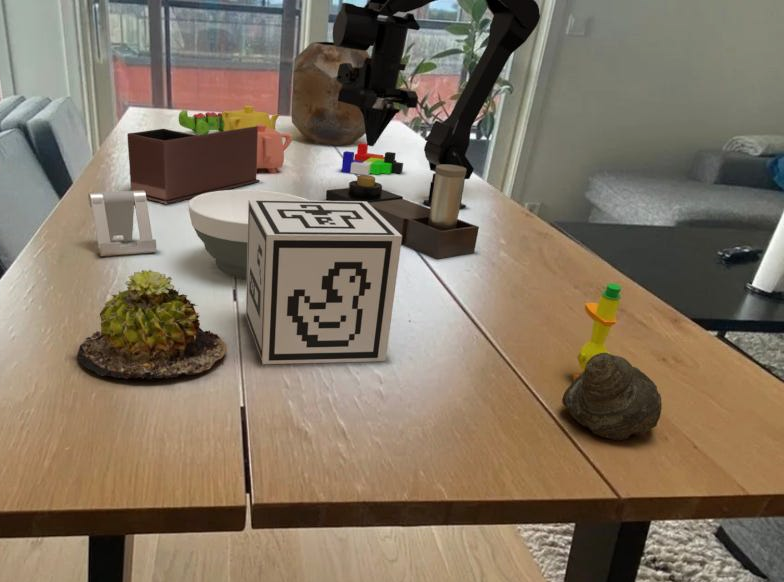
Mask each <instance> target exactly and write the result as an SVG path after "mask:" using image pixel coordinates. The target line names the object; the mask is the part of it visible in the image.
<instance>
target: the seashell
mask: <svg viewBox="0 0 784 582" xmlns="http://www.w3.org/2000/svg"><path fill="white" fill-rule="evenodd" d="M561 403H562V405H563V407H564V408H565V410H566V411H567V412H568V413H569V414H570V415H571V417H572V418H573V419H575V420H576V422H577V423H578V424H580V425H581V426H582V427H587V428H589V430H591V431H592V434H593V435H596V436H597V437H602V438H605V439H609V440H613V441H623V440H624V441H625V440H628V439H629V437H630V436H632V435H636V436H643V435H645V434H647V433H648V432H649V431H651V430H652V429H654V428H656V427H657V425H658V422H659V420H660V418H661V414H662V409H663V408H662V407H663V404H662V396H661V393H659V390H658V386H657V385H656V384H655V382H654V381H653V380H651V378H650V377H649V376H648V375H646V373H644V372H643V371H641V369H640V368H639V367H636V366H633V365H632V364H631V363H630V361H629V360H627V359H625V357H622V356H619V355H615V354H611V353H610V354H609V353H599V354H596V355H594V356H593V357H591V358H590V359H589V360H588V362H587V363H586V366H585V370H584V372H583V373H582V372H581V374H580V375H579V376H578V377H577V378H576V379H575V380H574V379H573V381H572V382H571V384H570V385H569V386H568V387H567V388H566V389H565V391H564V393H563V396H562V398H561Z"/></svg>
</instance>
